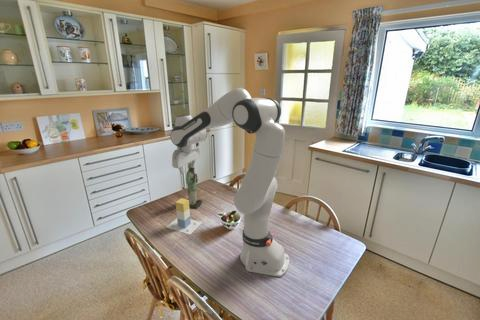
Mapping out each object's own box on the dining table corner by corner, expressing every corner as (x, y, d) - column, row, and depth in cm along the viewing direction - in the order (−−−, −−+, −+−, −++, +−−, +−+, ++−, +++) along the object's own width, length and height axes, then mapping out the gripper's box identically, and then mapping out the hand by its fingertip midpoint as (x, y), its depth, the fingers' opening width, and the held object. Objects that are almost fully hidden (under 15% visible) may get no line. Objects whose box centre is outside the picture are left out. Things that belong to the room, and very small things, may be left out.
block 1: (189, 207, 132) (188, 199, 130) (183, 212, 127) (183, 204, 126) (182, 206, 134) (181, 198, 132) (176, 210, 129) (175, 202, 128)
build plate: (202, 223, 136) (202, 222, 136) (190, 235, 126) (190, 234, 126) (179, 217, 142) (179, 215, 142) (166, 228, 132) (165, 226, 132)
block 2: (190, 215, 133) (189, 207, 132) (184, 220, 129) (183, 212, 127) (182, 213, 135) (182, 206, 134) (177, 218, 131) (176, 210, 129)
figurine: (197, 210, 150) (193, 165, 140) (182, 208, 152) (177, 164, 142) (202, 202, 159) (200, 159, 149) (188, 200, 161) (184, 158, 151)
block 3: (190, 223, 135) (190, 215, 133) (185, 228, 131) (184, 220, 129) (183, 221, 137) (182, 213, 135) (178, 226, 133) (177, 218, 131)
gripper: (178, 152, 115) (180, 178, 120) (201, 141, 133) (202, 165, 137) (167, 150, 117) (170, 176, 122) (191, 140, 135) (193, 163, 140)
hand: (187, 170), depth 130 cm, fingers open, 8 cm apart
